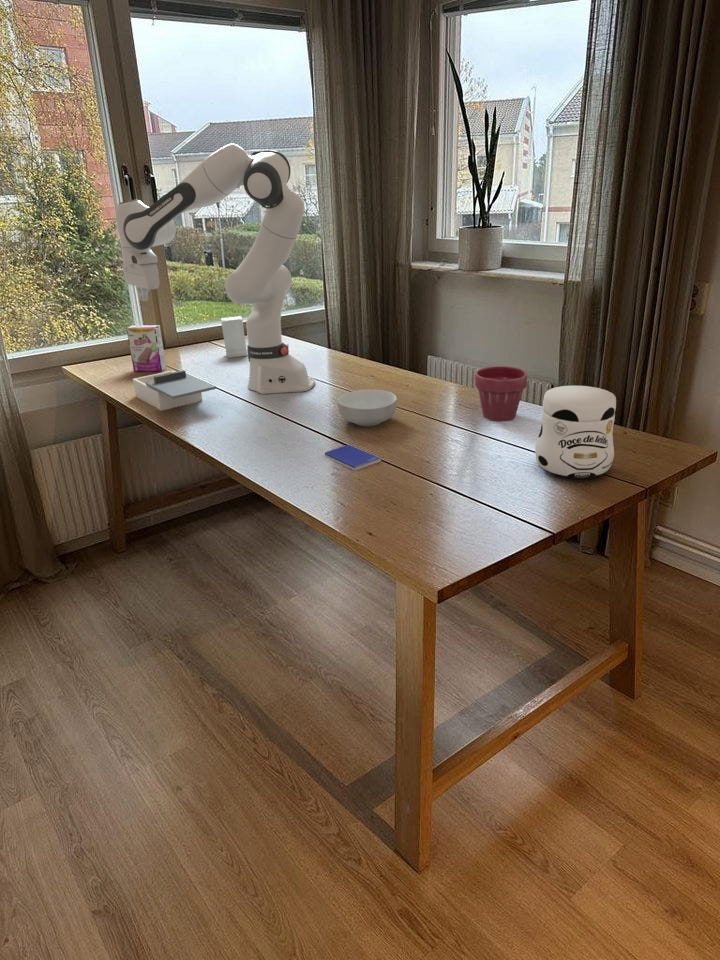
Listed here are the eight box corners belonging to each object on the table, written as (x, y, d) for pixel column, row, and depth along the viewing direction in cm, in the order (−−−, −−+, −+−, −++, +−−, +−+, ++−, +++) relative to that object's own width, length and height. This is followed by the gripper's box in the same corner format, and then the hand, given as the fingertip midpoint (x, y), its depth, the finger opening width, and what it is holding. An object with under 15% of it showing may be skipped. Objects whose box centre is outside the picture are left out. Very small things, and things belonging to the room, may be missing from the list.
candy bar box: (133, 372, 249) (125, 328, 242) (138, 368, 254) (130, 325, 247) (162, 372, 248) (155, 327, 241) (167, 368, 252) (160, 324, 246)
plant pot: (463, 416, 193) (464, 372, 187) (495, 404, 201) (497, 362, 195) (502, 428, 182) (505, 382, 177) (534, 416, 191) (538, 372, 185)
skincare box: (246, 352, 270) (242, 315, 264) (247, 356, 265) (243, 318, 258) (225, 354, 268) (220, 317, 262) (225, 358, 263) (221, 320, 257)
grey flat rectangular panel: (145, 384, 211) (144, 376, 209) (187, 376, 218) (185, 367, 217) (173, 399, 196) (171, 389, 195) (216, 388, 204) (215, 379, 203)
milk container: (579, 492, 146) (588, 413, 138) (518, 467, 159) (523, 394, 151) (627, 471, 155) (638, 396, 147) (565, 449, 168) (572, 379, 160)
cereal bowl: (330, 417, 196) (329, 393, 193) (383, 408, 201) (383, 386, 198) (350, 436, 181) (349, 411, 178) (406, 426, 187) (406, 402, 184)
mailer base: (135, 396, 221) (132, 378, 219) (175, 387, 229) (172, 370, 226) (161, 410, 207) (157, 392, 204) (202, 400, 214) (199, 382, 212)
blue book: (380, 457, 165) (349, 444, 174) (354, 466, 160) (324, 452, 169) (381, 463, 165) (350, 449, 174) (355, 472, 161) (324, 458, 170)
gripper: (115, 254, 217) (122, 298, 223) (139, 259, 203) (147, 305, 208) (134, 252, 221) (141, 295, 226) (159, 257, 206) (166, 303, 212)
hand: (144, 300), depth 217 cm, fingers closed
